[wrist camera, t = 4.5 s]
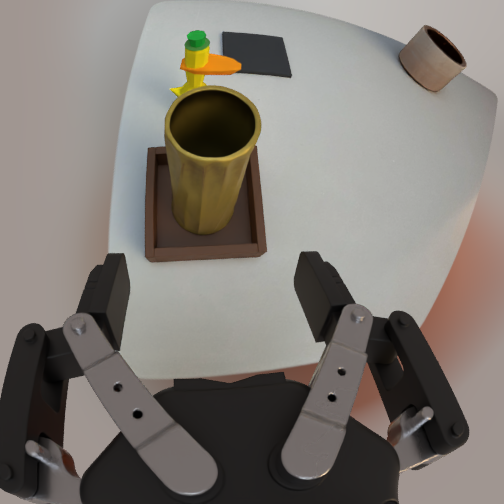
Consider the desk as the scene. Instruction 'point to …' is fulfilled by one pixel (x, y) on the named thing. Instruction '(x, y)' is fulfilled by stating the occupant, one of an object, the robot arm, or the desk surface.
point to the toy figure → (202, 63)
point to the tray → (192, 245)
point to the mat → (257, 53)
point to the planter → (432, 59)
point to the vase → (208, 154)
